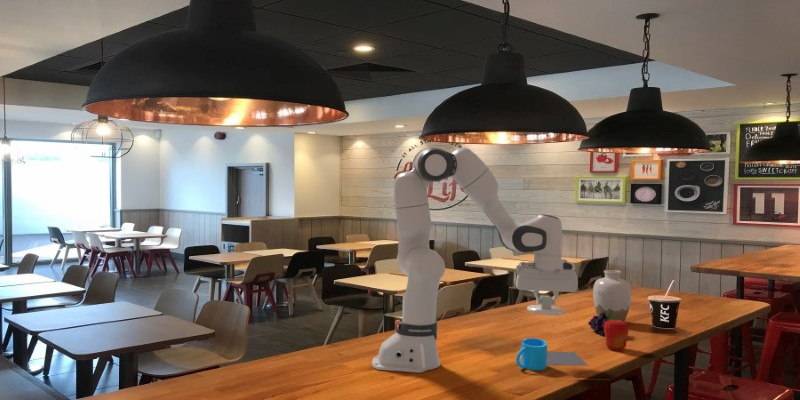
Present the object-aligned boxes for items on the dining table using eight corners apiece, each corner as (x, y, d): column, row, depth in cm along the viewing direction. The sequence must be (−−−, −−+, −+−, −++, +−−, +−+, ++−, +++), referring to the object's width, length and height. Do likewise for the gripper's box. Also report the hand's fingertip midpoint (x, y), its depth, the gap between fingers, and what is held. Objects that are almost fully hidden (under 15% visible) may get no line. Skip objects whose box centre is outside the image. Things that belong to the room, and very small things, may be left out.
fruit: (597, 337, 255) (630, 335, 244) (582, 337, 249) (616, 334, 238) (594, 312, 258) (627, 309, 247) (579, 311, 251) (612, 307, 241)
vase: (632, 321, 272) (634, 270, 271) (628, 328, 258) (629, 274, 257) (595, 317, 279) (597, 267, 279) (589, 324, 265) (590, 271, 265)
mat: (539, 366, 203) (539, 364, 203) (529, 352, 219) (529, 351, 219) (588, 367, 203) (588, 365, 203) (574, 353, 219) (574, 351, 219)
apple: (633, 350, 224) (633, 318, 223) (616, 353, 220) (617, 320, 219) (614, 344, 231) (615, 313, 231) (598, 347, 227) (599, 315, 227)
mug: (533, 360, 206) (534, 336, 205) (551, 368, 200) (552, 343, 199) (507, 367, 200) (507, 343, 199) (525, 376, 193) (526, 351, 192)
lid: (531, 314, 200) (532, 298, 200) (523, 307, 212) (524, 292, 212) (568, 315, 200) (568, 300, 200) (558, 308, 212) (559, 294, 212)
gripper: (518, 262, 202) (516, 304, 203) (580, 265, 202) (578, 307, 203) (514, 260, 209) (512, 301, 209) (574, 263, 209) (572, 303, 209)
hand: (545, 304), depth 206 cm, fingers closed on lid, 3 cm apart
